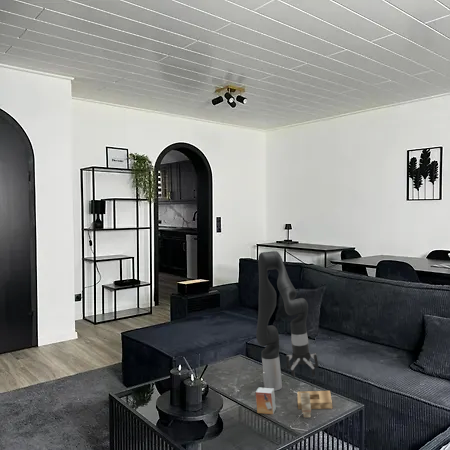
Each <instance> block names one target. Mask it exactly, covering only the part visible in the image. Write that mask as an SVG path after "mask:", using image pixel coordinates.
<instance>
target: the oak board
mask: <svg viewBox="0 0 450 450" xmlns="http://www.w3.org/2000/svg"><path fill="white" fill-rule="evenodd" d="M301 393H309V394H310V405H311V410H321V409H322V410H325V409H326V410H328V409H329V410H330V409H331V410H332V409H333V401H332V396H331V395H332V394H331V390H313V391H312V390H309V391H308V390H307V391H306V390H305V391H297V409H298V410H302V405H301Z"/></svg>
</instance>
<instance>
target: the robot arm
mask: <svg viewBox="0 0 450 450" xmlns="http://www.w3.org/2000/svg"><path fill="white" fill-rule="evenodd" d="M257 259H258V261H257V263H258V279H259V280H258V281H259V282H258V311H257V313H258V314H257V325H256V333H255V334H256V335H255V336H256V341H257V344H258V345H259V346H261V347H265V348H264V349H262V350H261V353H260V354H261V361H262V362H261V363H262V379H263V388H274V392H277V391H279V390H281V389H282V388H283V382H282V373H281V372H282V371H281V363H280V355H279V353H280V336H279V331H278V328H277V327H276V326H274V325H272V324H271V325H268V324H269V322H270V319H271V318H272V315H273V313H274V312H275V309H276V307H277V291H276V290H275V288H274V286H273V285H272V283H271V282H270V280H269V277H268V271H269V270H270V271H271V270H276V271H277V272H278V277H277V281H276V285H277V289H278V292H279V294H280V296H281V297H282V301H283V304H284V311H285V313H286V314H287V315H288V316H291V317H292V316H296V317H295V318H293V319H292V320H291V321H290V323H289V324H290V335H291V337H290V338H291V339H290V342H291V348H292V349H291V350H292V354H286V355H285V356H286V357H285V359H286V361H285V362H286V369H287V370H290V371H291V377H293V379H294V378H296V373H295V368H296V367H297V365H306V364H307V365H308V366H309V367H310V368H311V369H310V370H311V376H312V378H313V377H314V376H315V375H316V371H315V369H316V368H318V367H319V362H318V356H317V353H316V352H313V353H312V354H311V353H310V345H309V338H308V337H309V336H308V332H307V319H308V318H307V317H308V313H309V304H308V301H307V299H305V298H303V297H300V298H296V297H297V294H298V293H297V290H296V288H295V287H294V285H293V283H292V282H291V279H290V277H289V275H288V271H287V270H286V266H285V263H284V261H283V258H282V256H281V254H280V253H279V251H275V250H273V251H263V252H260V253H259V254H258V258H257ZM311 358H312V359H313V360H314V364H313V361H311V360H310V359H311ZM291 360H293V362H292V364H290V361H291Z"/></svg>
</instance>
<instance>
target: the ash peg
mask: <svg viewBox="0 0 450 450" xmlns="http://www.w3.org/2000/svg"><path fill="white" fill-rule="evenodd" d="M301 405H302V409H301V413H303V418H307V419H308V418H312V417H311V413H312V409H311V405H310V394H309V393H301Z"/></svg>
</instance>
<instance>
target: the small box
mask: <svg viewBox="0 0 450 450" xmlns="http://www.w3.org/2000/svg"><path fill="white" fill-rule="evenodd" d="M275 396H276V395H275V391H274V388H264V387H259V386H258V388H257V389H256V391H255V401H256V402H255V403H256V412H257V414H266V415H274V414H275V411H276V409H277V408H276V407H277V406H276V397H275Z"/></svg>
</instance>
